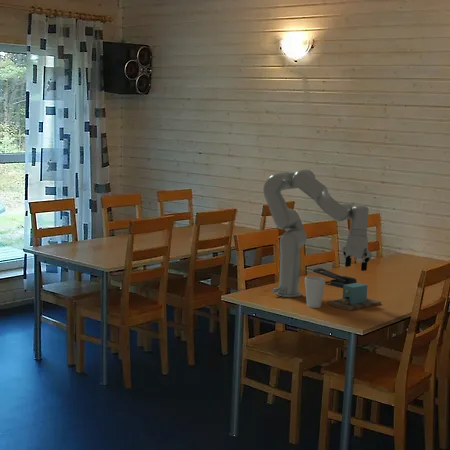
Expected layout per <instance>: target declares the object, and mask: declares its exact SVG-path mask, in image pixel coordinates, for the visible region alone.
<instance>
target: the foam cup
mask: <svg viewBox="0 0 450 450" xmlns="http://www.w3.org/2000/svg"><path fill="white" fill-rule="evenodd" d="M325 285H326V278H325V277H322V276H312V275H311V276H305V277H304V286H305V288H304V289H305V297H306V299H305V301H306V306H307V307H308V308H310V309H311V308H312V309H318V308H321V306H322V302H323V301H322V300H323V295H324V291H325Z"/></svg>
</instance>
